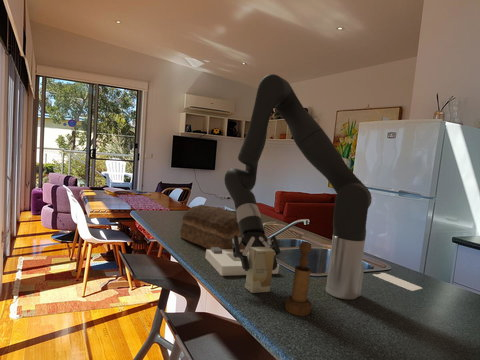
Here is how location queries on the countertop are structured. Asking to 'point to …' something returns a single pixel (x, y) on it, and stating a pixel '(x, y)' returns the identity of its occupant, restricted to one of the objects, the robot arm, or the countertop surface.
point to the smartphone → (397, 281)
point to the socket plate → (228, 262)
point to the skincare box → (259, 269)
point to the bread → (210, 227)
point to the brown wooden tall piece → (300, 285)
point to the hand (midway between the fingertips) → (261, 269)
